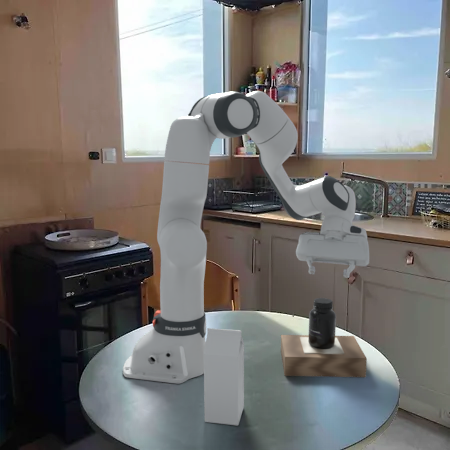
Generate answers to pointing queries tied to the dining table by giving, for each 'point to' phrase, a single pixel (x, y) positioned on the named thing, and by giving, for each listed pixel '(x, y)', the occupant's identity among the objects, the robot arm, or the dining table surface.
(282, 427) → the dining table surface
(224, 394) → the milk carton
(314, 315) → the supplement bottle
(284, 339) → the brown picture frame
